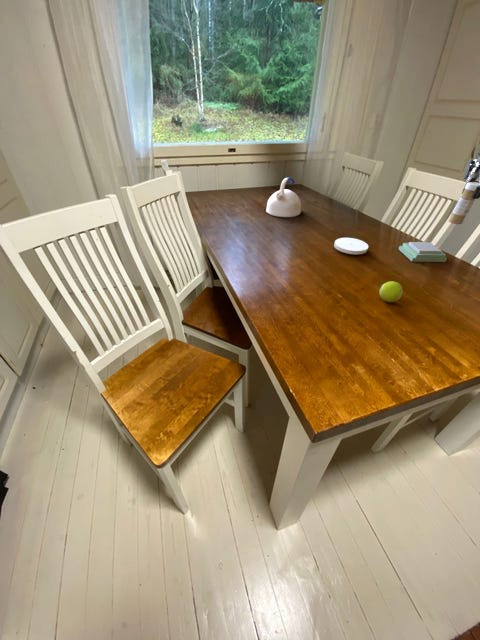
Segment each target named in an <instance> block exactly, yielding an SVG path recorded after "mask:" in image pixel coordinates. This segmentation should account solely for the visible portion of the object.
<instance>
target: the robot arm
mask: <svg viewBox="0 0 480 640" xmlns="http://www.w3.org/2000/svg"><path fill="white" fill-rule="evenodd" d="M477 155H478V157H477V158H476V159H469V161H468V162H467V166H466V169H465V173H464V176H463V180H465V185H464V187H463V189H462V192H461V195H462V194H463V192H464V190H465V187H466V185H467V183H468V182H476V181H477V180H478V179H479V181H478V183H479V184H478V187H477V188H476V190H475V192H474V194H473V196H472V198H473V199H475V200H479V199H480V148H479V150H478V151H477Z"/></svg>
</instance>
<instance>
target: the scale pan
mask: <svg viewBox="0 0 480 640" xmlns="http://www.w3.org/2000/svg"><path fill="white" fill-rule="evenodd" d="M408 243H409V244H408V245H409V246H410V247H411V248H413V249H414V250H415V251H416V252H417V253H418V254H441V252H443V251H442V250H441V249H440V248H438V246H436V245H434V244H433V243H432V242H430V241H409V242H408Z"/></svg>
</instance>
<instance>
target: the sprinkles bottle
mask: <svg viewBox="0 0 480 640" xmlns="http://www.w3.org/2000/svg"><path fill="white" fill-rule="evenodd" d="M466 183H467V182H466ZM478 184H479V182H476V181H475V182H468V183H467V185H466V184H465V185H466V187H465V186H464V187H465V190H464V192H463V191H462V192H463V194H462V193H461V196H460V197H459V199H458V201H457V203H456V205H455V207H454V209H453V210H452V213H451V215H450V217H449V219H448V222H449V223H451V224H453V225H462V224H463V223H464V220H465V219H466V217H467V215H468V213H469V212H470V210H471V208H472V206H473V204H474V202H475V201H476V199H473V198H472V196H473V194H474V192H475V190H476V188H477V187H478Z"/></svg>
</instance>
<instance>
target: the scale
mask: <svg viewBox="0 0 480 640" xmlns="http://www.w3.org/2000/svg"><path fill="white" fill-rule="evenodd" d="M408 244H409V242H403V243H402V245H399V246H398V250H399V251H400V252H401V254H403V255H404V256H405V257H406V258H407V259H408V260H409V261H410V262H411V263H417V262H418V263H446V262H447V260H448V258H447V254H445V253H444V252H443V251H442V252H441V254H418V253H417V252H416V251H415V250H414V249H413V248H411V247H410V246H409V245H408Z"/></svg>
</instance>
